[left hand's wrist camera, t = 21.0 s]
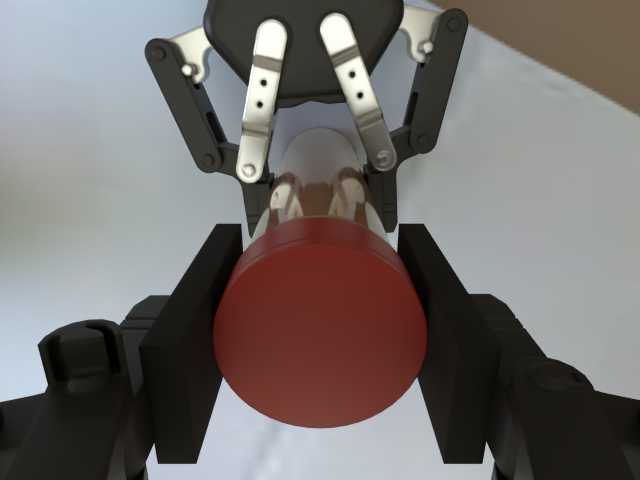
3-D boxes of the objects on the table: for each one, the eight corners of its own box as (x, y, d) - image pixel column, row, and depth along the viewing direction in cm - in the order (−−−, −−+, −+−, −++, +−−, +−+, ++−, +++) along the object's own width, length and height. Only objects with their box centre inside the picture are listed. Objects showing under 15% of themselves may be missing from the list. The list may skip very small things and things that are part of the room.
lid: (200, 244, 11) (179, 276, 10) (391, 194, 11) (404, 218, 9) (260, 396, 13) (251, 446, 11) (428, 358, 13) (445, 405, 11)
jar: (346, 206, 30) (384, 415, 12) (276, 191, 29) (213, 383, 12) (364, 136, 28) (439, 260, 10) (291, 119, 28) (242, 218, 10)
